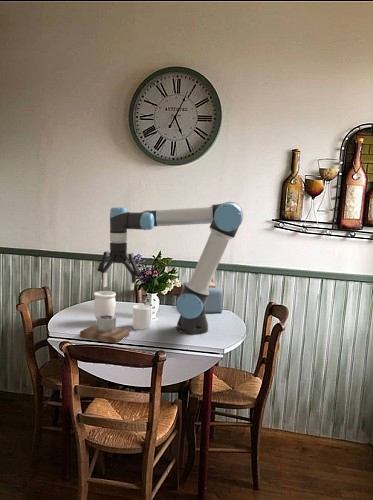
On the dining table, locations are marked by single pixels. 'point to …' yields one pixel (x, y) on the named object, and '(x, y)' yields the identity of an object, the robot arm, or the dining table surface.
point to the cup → (141, 317)
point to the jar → (104, 303)
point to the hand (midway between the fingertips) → (118, 288)
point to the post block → (104, 334)
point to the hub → (106, 324)
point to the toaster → (214, 299)
